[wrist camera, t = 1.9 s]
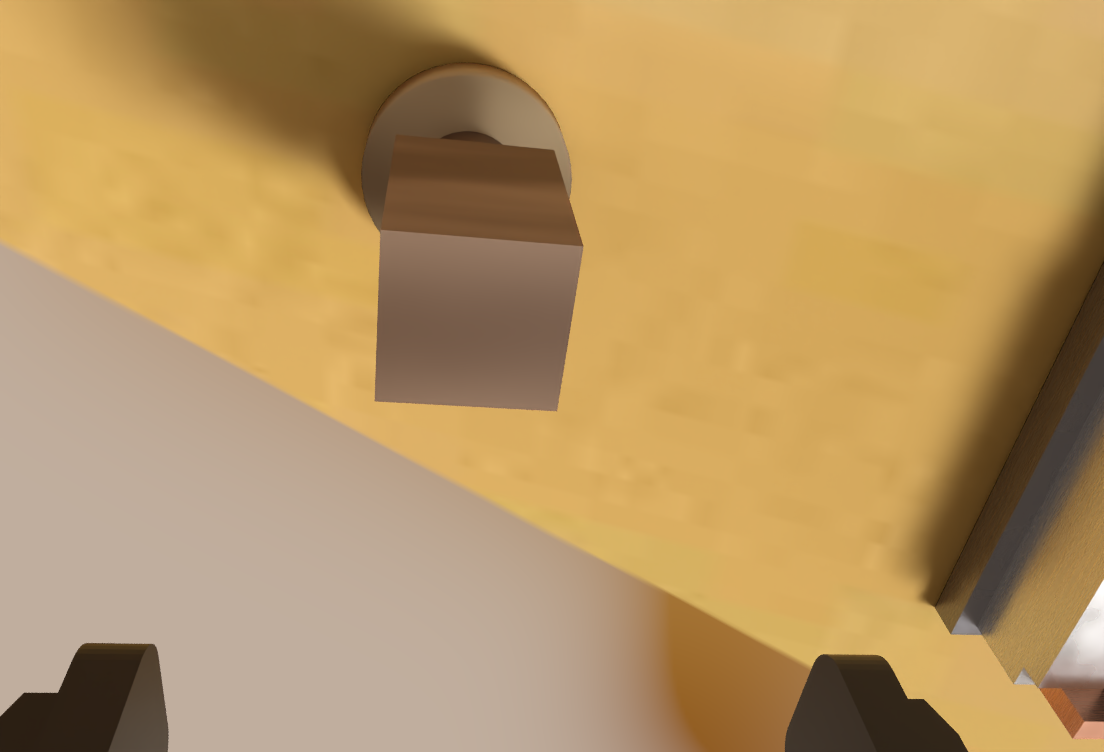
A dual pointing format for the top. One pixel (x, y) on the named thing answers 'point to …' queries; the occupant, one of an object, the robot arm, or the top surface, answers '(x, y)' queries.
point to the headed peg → (471, 241)
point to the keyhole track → (1047, 540)
